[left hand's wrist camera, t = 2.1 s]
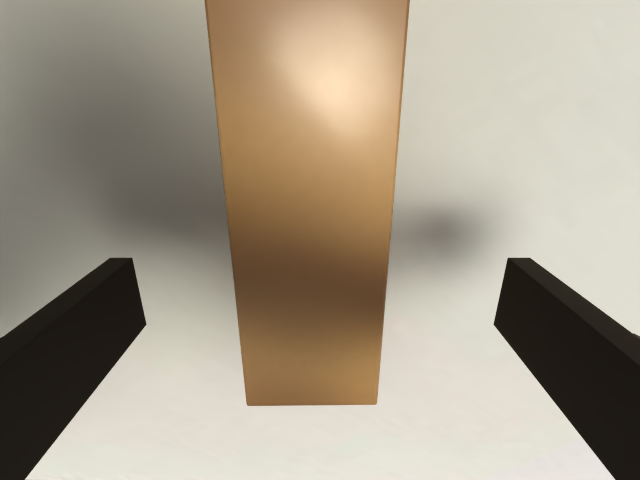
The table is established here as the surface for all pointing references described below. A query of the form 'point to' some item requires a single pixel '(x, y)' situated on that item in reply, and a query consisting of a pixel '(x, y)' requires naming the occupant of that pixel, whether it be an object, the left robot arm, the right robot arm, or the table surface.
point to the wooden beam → (309, 187)
